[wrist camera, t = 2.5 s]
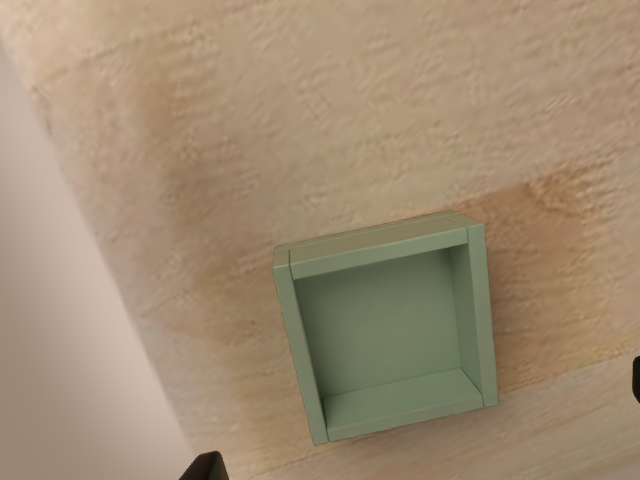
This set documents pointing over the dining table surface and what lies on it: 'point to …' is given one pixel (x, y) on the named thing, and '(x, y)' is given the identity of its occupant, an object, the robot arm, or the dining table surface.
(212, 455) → the robot arm
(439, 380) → the celadon dish
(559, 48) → the dining table surface
